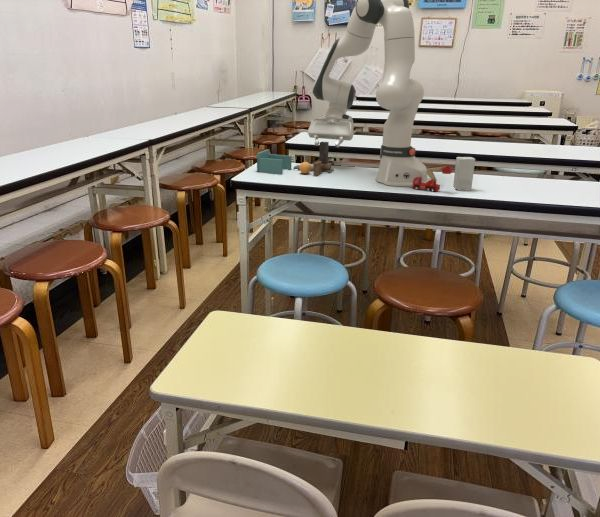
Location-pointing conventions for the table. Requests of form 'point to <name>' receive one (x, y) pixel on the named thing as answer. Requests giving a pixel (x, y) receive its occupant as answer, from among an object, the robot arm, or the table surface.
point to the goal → (272, 162)
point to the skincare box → (464, 172)
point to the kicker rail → (321, 169)
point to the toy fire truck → (432, 183)
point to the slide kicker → (322, 159)
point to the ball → (305, 167)
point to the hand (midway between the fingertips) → (326, 145)
